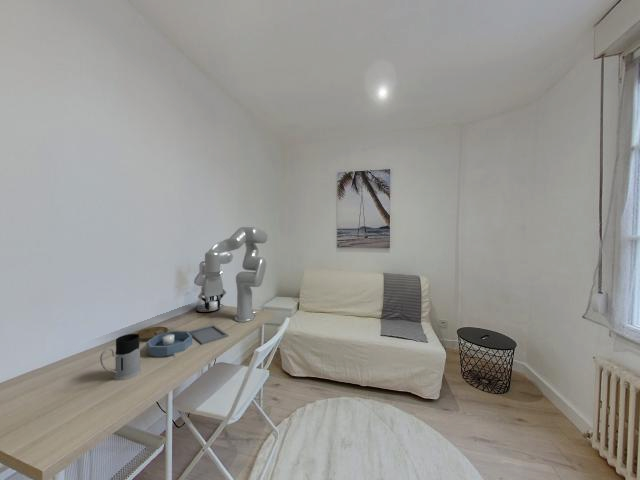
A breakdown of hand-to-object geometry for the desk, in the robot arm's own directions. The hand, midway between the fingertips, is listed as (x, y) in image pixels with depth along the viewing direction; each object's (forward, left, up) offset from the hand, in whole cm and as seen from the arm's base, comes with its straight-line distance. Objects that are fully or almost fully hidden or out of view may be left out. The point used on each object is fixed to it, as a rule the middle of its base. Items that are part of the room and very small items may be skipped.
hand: (212, 307), depth 133 cm
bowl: (+19, -4, -17) cm, 26 cm away
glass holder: (+40, +10, -17) cm, 45 cm away
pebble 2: (0, 0, -1) cm, 1 cm away
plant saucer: (+22, -26, -18) cm, 38 cm away
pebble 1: (+19, -7, -16) cm, 26 cm away
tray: (0, -5, -17) cm, 18 cm away
